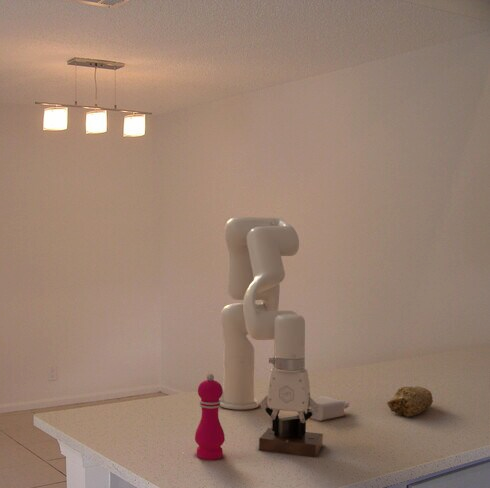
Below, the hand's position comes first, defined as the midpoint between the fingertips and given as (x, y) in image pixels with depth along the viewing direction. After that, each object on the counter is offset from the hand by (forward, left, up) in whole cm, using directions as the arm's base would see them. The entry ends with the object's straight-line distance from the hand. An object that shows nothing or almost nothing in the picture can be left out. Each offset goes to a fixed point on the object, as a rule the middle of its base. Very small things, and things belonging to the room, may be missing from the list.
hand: (288, 435), depth 182 cm
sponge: (+26, +52, -4) cm, 58 cm away
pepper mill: (-17, -13, -3) cm, 22 cm away
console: (0, +1, -3) cm, 3 cm away
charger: (+4, +37, -4) cm, 37 cm away
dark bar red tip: (0, +1, 0) cm, 1 cm away
